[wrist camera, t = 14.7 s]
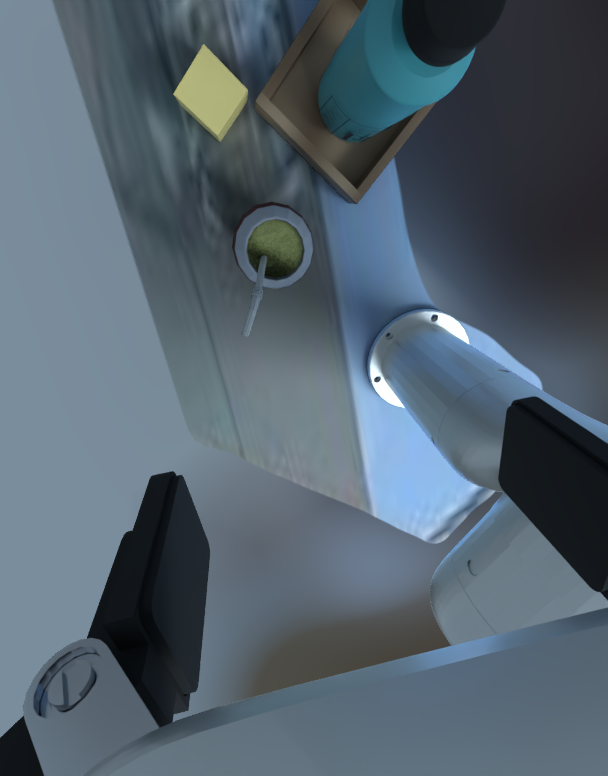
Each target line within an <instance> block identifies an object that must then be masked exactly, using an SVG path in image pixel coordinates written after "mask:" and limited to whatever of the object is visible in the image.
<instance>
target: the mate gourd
mask: <svg viewBox="0 0 608 776" xmlns="http://www.w3.org/2000/svg"><path fill="white" fill-rule="evenodd" d="M232 248H233V252H234V255H235V259H236V263H237V265H238V266H239V268H240V269H241V270H242V272H243V273H244V274H245V276H246V277H247V278H248V279H250V280H252V281H253V282H255V283H256V284H255V288H253V290H252V295H251V299H252V302H251V305H250V308H249V312H248V315H247V318H246V321H245V324H244V327H243V330H242V333H241V335H243V336H246V337H249V334H250V331H251V328H252V324H253V321H254V318H255V315H256V312H257V308H258V305H259V302H260V301H261V300H262V295H263V289H262V286H263V287H268V288H274V289H277V288H281V287H286V286H290V285H291V284H293V283H294V282H296V281H297V280H298V279H300V278H301V277H302V276H303V275H304V273H305V271H306V270H307V268H308V267H309V265H310V263H311V258H312V253H313V248H314V247H313V241H312V235H311V230H310V229H309V227H308V225H307V224H306V222H305V220H304V219H303V217H302V216H301V215H300V214H299V213H297V212H296V211H295V210H293V209H292V208H291V207H289V206H288V205H284V204H279V203H275V202H269V203H264V204H260V205H256V206H254V207H253V208H252V209H250V210H249V211H248V212H247V213H245V214H244V215H243V216H242V218H241V219H240V221H239V223H238V225H237V226H236V228H235V230H234V237H233V245H232Z"/></svg>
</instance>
